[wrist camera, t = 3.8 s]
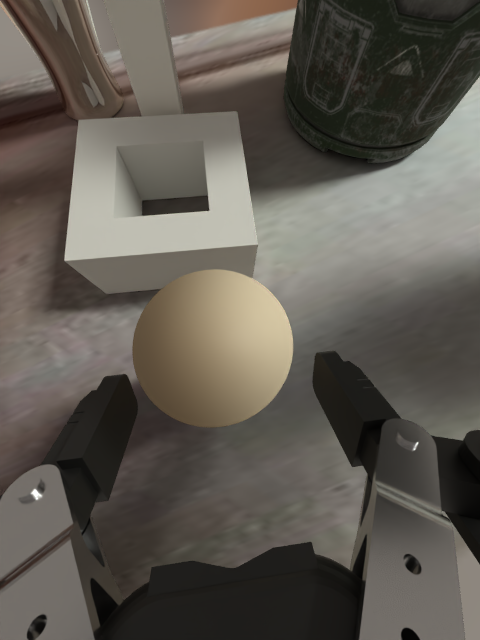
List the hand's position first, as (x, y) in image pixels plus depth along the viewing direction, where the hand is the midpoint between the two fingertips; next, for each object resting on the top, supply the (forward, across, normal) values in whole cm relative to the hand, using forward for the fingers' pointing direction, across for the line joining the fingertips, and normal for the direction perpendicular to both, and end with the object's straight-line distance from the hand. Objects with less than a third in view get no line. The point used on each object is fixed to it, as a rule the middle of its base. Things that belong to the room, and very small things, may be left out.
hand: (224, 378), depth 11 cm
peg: (+6, 0, +5) cm, 7 cm away
